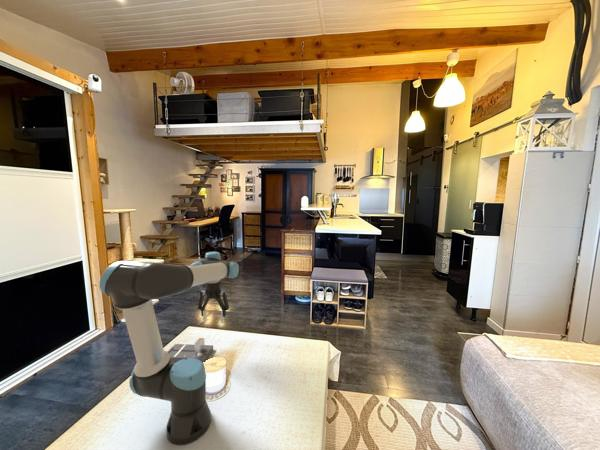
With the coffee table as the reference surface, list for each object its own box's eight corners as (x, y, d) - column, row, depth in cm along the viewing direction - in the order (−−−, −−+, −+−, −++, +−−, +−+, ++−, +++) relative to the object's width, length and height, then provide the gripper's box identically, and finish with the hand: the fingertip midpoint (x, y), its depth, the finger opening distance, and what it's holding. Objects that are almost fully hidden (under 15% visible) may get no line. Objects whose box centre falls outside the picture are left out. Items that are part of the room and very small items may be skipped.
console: (204, 363, 126) (203, 355, 125) (162, 361, 127) (162, 354, 126) (213, 349, 138) (213, 342, 137) (175, 348, 139) (175, 341, 138)
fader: (200, 353, 129) (200, 343, 129) (194, 353, 129) (194, 342, 129) (204, 348, 134) (204, 337, 134) (199, 348, 134) (198, 337, 134)
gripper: (235, 279, 132) (235, 319, 133) (196, 278, 132) (197, 318, 134) (231, 283, 124) (231, 326, 126) (189, 282, 125) (190, 324, 127)
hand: (213, 322), depth 130 cm, fingers open, 9 cm apart
